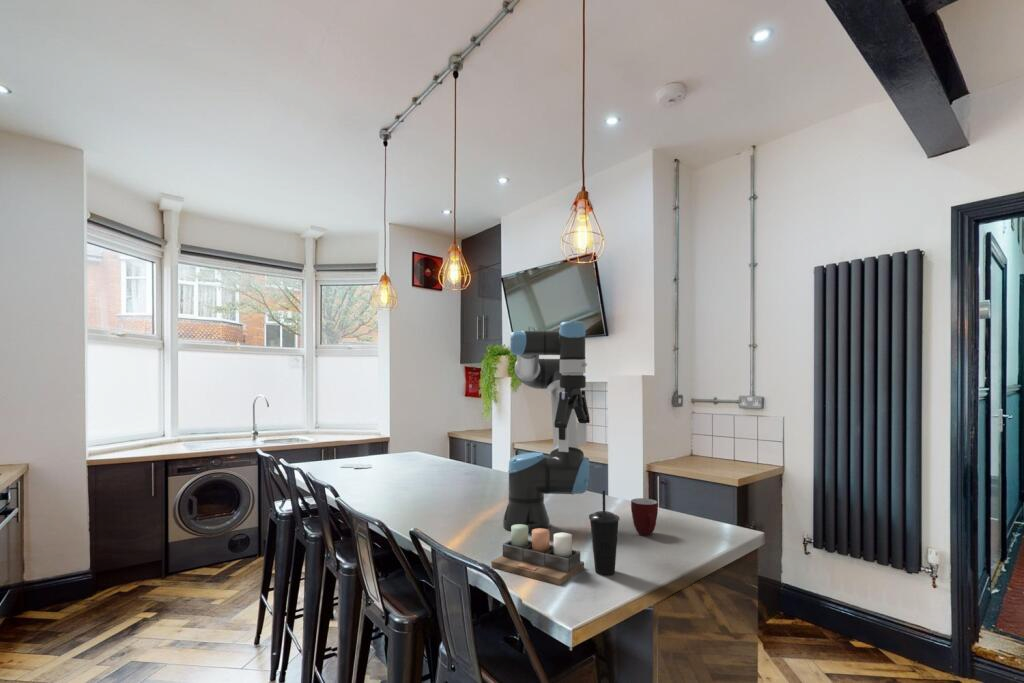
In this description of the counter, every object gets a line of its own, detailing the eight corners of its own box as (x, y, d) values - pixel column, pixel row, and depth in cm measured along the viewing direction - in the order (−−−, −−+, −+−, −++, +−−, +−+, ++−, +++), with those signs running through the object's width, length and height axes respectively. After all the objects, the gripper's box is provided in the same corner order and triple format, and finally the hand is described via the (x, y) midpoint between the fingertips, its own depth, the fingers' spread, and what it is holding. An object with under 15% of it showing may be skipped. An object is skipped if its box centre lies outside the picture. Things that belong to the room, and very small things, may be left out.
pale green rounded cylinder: (507, 546, 134) (507, 527, 134) (517, 542, 137) (517, 523, 138) (522, 550, 131) (522, 530, 131) (531, 545, 135) (531, 526, 135)
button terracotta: (528, 551, 130) (528, 531, 130) (537, 546, 134) (537, 527, 134) (543, 555, 127) (543, 534, 128) (552, 549, 131) (552, 530, 132)
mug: (668, 539, 152) (667, 505, 152) (644, 541, 149) (643, 507, 150) (649, 529, 162) (648, 497, 162) (626, 531, 159) (626, 499, 160)
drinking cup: (586, 566, 130) (585, 487, 131) (615, 565, 130) (614, 487, 132) (593, 578, 122) (592, 494, 124) (624, 577, 123) (623, 494, 124)
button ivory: (550, 556, 126) (550, 536, 127) (559, 551, 130) (559, 531, 131) (566, 560, 124) (566, 539, 124) (575, 554, 128) (574, 534, 128)
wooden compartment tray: (491, 567, 129) (491, 549, 130) (518, 552, 140) (519, 536, 140) (560, 585, 118) (559, 565, 119) (584, 567, 129) (584, 549, 129)
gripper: (567, 375, 133) (567, 455, 132) (599, 374, 155) (600, 443, 154) (541, 374, 137) (542, 453, 136) (577, 374, 159) (577, 441, 158)
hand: (573, 448), depth 145 cm, fingers open, 13 cm apart
